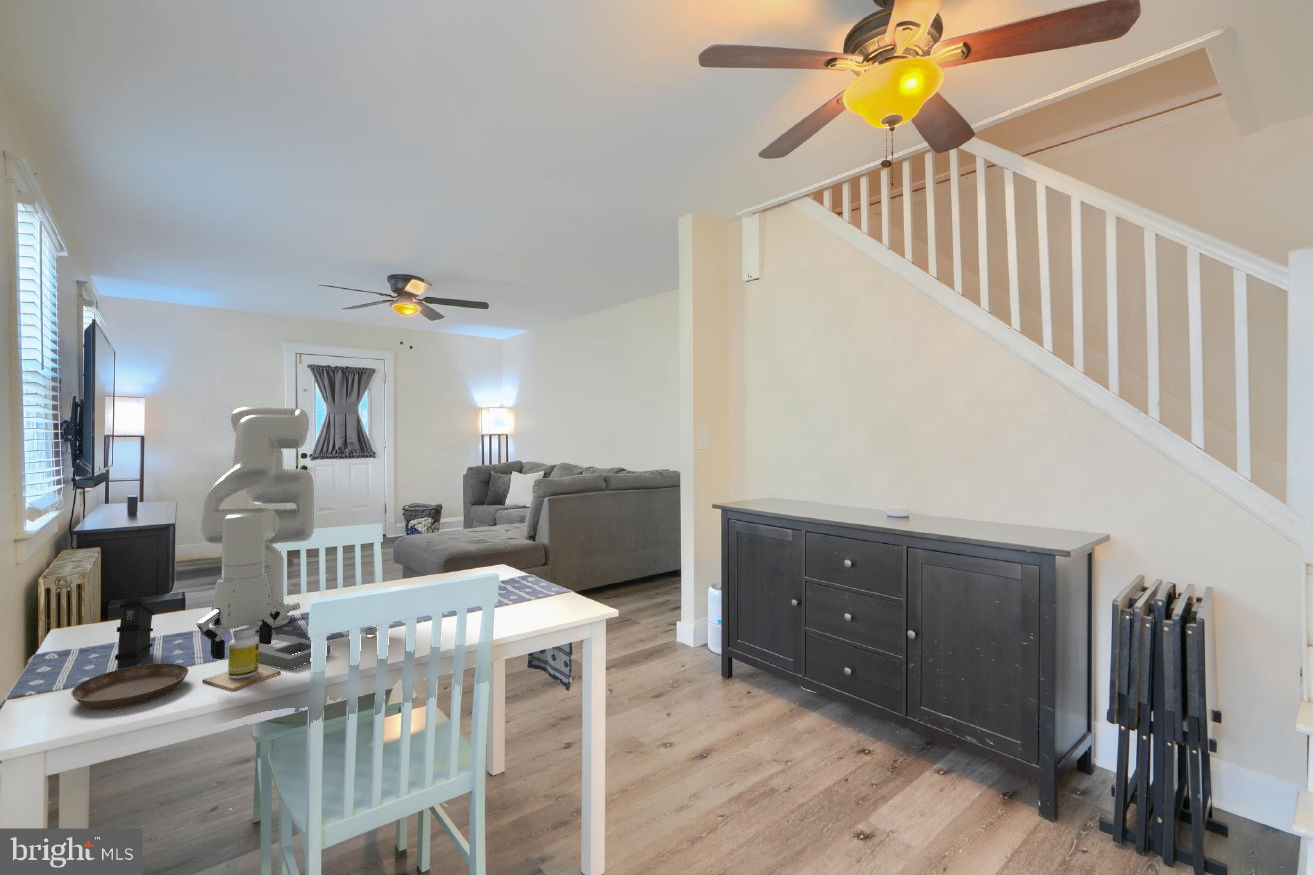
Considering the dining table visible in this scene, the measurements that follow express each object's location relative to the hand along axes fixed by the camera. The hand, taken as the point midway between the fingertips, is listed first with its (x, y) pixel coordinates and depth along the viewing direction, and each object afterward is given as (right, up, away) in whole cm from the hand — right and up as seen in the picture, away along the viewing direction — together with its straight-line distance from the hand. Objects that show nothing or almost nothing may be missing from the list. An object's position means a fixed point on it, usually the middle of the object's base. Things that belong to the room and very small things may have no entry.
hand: (242, 650), depth 128 cm
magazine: (-31, -6, +9) cm, 33 cm away
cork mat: (0, -6, 0) cm, 6 cm away
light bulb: (+14, -6, +27) cm, 32 cm away
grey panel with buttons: (+1, -6, +13) cm, 14 cm away
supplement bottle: (0, -5, 0) cm, 5 cm away
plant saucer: (-17, -6, -8) cm, 19 cm away
